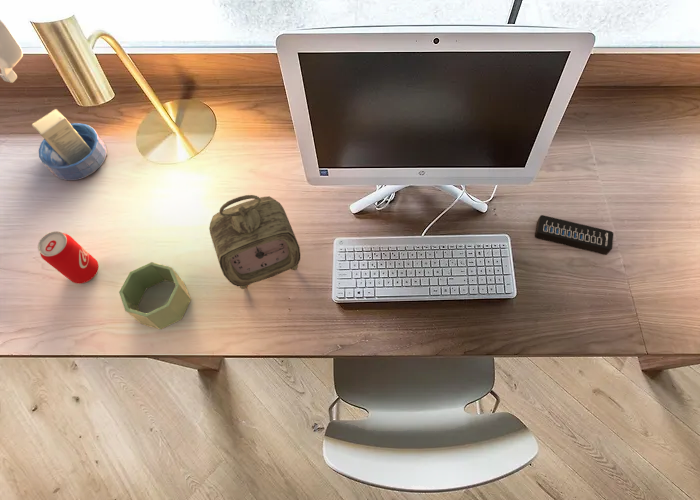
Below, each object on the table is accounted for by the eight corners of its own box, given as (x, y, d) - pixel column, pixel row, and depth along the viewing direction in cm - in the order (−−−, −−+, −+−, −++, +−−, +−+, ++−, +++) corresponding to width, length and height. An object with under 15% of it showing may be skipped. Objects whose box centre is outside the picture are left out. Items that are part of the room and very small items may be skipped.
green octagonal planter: (127, 320, 97) (110, 306, 90) (151, 273, 101) (137, 258, 95) (175, 333, 95) (161, 321, 89) (197, 286, 99) (186, 270, 93)
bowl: (40, 175, 115) (27, 161, 110) (70, 132, 120) (59, 118, 116) (89, 186, 112) (78, 173, 108) (117, 143, 118) (108, 129, 114)
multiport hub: (537, 220, 104) (540, 214, 102) (608, 237, 101) (613, 231, 99) (534, 237, 102) (537, 231, 100) (607, 255, 99) (612, 250, 97)
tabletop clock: (237, 297, 98) (199, 234, 76) (226, 260, 102) (186, 190, 80) (306, 272, 100) (287, 203, 78) (291, 236, 104) (270, 162, 82)
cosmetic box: (85, 144, 118) (56, 107, 107) (95, 154, 116) (67, 117, 105) (61, 160, 116) (30, 123, 105) (71, 170, 114) (40, 134, 103)
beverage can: (105, 261, 103) (75, 233, 92) (90, 288, 100) (57, 261, 90) (79, 255, 104) (46, 225, 93) (64, 281, 101) (28, 253, 91)
